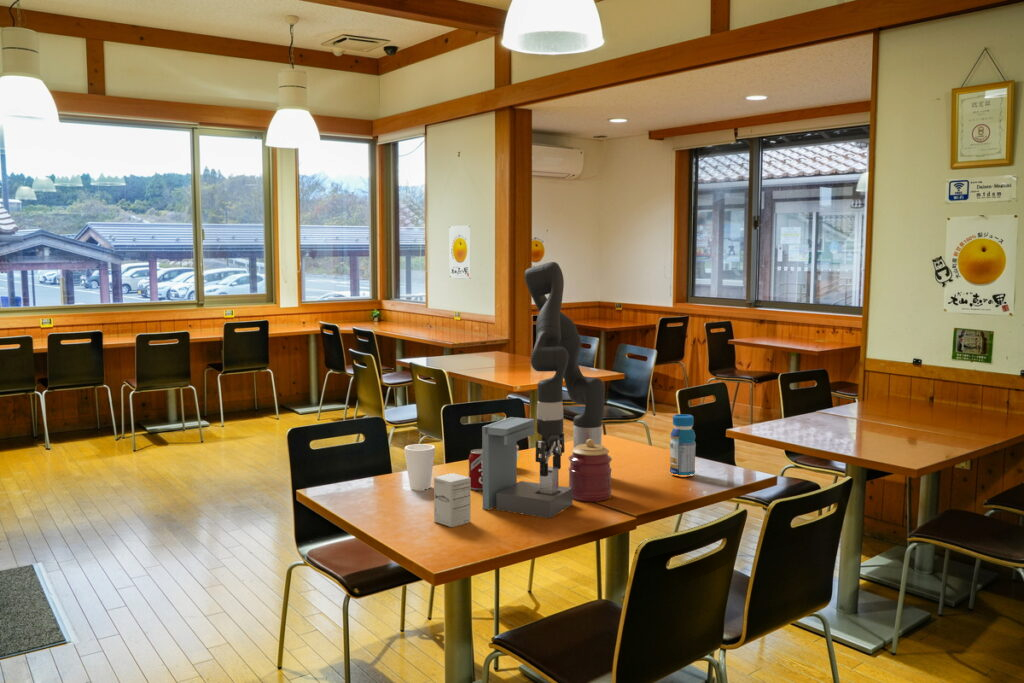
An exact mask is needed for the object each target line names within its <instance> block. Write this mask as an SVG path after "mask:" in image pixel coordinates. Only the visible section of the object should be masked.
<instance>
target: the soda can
mask: <svg viewBox="0 0 1024 683" xmlns="http://www.w3.org/2000/svg"><path fill="white" fill-rule="evenodd" d="M468 477H470V478H471V490H473V491H476V490H483V477H482V448H477V449H476V448H475V449H471V450H470V454H469V456H468Z"/></svg>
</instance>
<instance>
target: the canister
mask: <svg viewBox="0 0 1024 683" xmlns="http://www.w3.org/2000/svg"><path fill="white" fill-rule="evenodd" d="M609 452H610V450H609V449H608V448H606V447H605V446H604V445H602V444H601V445H599V444H595V443H594V440H593V439H588V440H587V441H586V444H580V445H577V446H576V447H575V448H571V453H572V454H571V455H569V456H568V461H569V464H570V465H569V467H568V478H569V479H568V487H569V488H573V498H572V500H576V501H578V502H579V501H580V502H589V503H590V502H593V503H595V502H602V500H603V501H607V500H609V499H610V498H611V497H610V496H612V489H613V488H612V472H613V471H612V468H611V465H610V464H611V461H612V460H613V459H612V457H611V456H610V455H609V454H608V453H609ZM609 497H610V498H609ZM608 498H609V499H608ZM606 499H607V500H606ZM594 501H595V502H594Z"/></svg>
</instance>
